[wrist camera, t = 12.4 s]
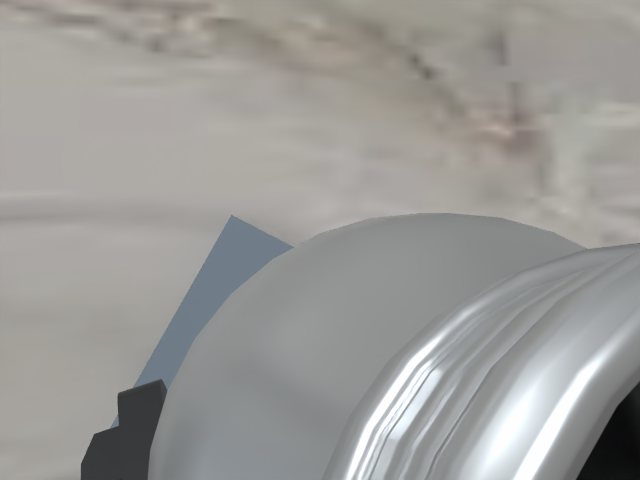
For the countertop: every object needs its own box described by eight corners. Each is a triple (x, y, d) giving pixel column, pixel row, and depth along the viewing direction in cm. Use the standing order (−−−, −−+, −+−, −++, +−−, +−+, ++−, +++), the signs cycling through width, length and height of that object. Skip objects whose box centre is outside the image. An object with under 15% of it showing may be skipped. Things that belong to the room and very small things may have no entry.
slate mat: (353, 613, 26) (358, 622, 25) (86, 476, 26) (80, 480, 25) (467, 343, 29) (475, 342, 28) (231, 220, 29) (231, 215, 28)
